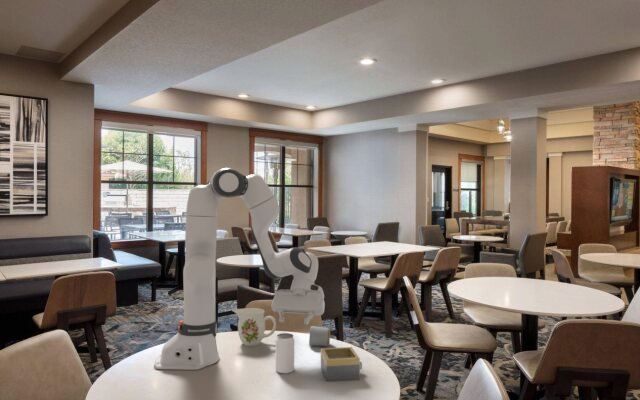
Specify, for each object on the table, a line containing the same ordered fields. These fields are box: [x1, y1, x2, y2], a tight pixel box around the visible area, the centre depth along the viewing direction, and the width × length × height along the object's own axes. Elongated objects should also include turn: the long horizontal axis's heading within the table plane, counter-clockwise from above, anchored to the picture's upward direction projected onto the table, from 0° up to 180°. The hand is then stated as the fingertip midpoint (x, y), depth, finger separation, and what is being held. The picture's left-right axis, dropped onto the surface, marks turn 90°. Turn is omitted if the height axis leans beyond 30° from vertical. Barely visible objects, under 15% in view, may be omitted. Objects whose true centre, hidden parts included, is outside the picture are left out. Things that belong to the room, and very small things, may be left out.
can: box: [275, 332, 295, 375], centre depth 152 cm, size 6×6×12 cm
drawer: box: [320, 346, 363, 383], centre depth 149 cm, size 13×11×7 cm
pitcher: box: [231, 307, 277, 347], centre depth 180 cm, size 11×18×14 cm, turn 94°
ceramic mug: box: [308, 325, 331, 347], centre depth 179 cm, size 11×8×8 cm
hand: (293, 322), depth 160 cm, fingers open, 8 cm apart
